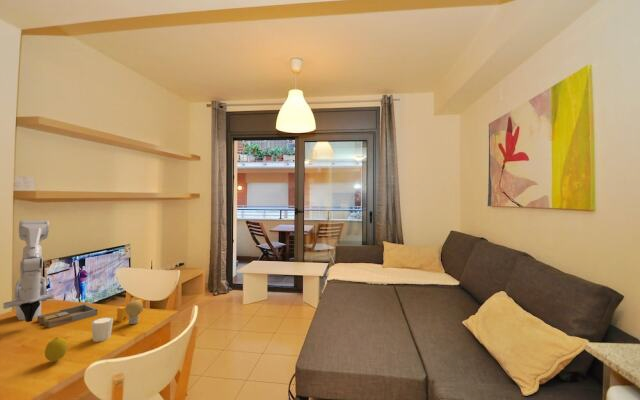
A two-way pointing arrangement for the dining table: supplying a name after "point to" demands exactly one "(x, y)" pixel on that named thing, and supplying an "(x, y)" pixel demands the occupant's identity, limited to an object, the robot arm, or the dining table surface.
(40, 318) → the slot board
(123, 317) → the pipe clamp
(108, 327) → the white cup
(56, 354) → the lemon
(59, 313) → the silvery white square block
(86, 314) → the tray
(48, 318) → the brass chip
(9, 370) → the dining table surface
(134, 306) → the light bulb
